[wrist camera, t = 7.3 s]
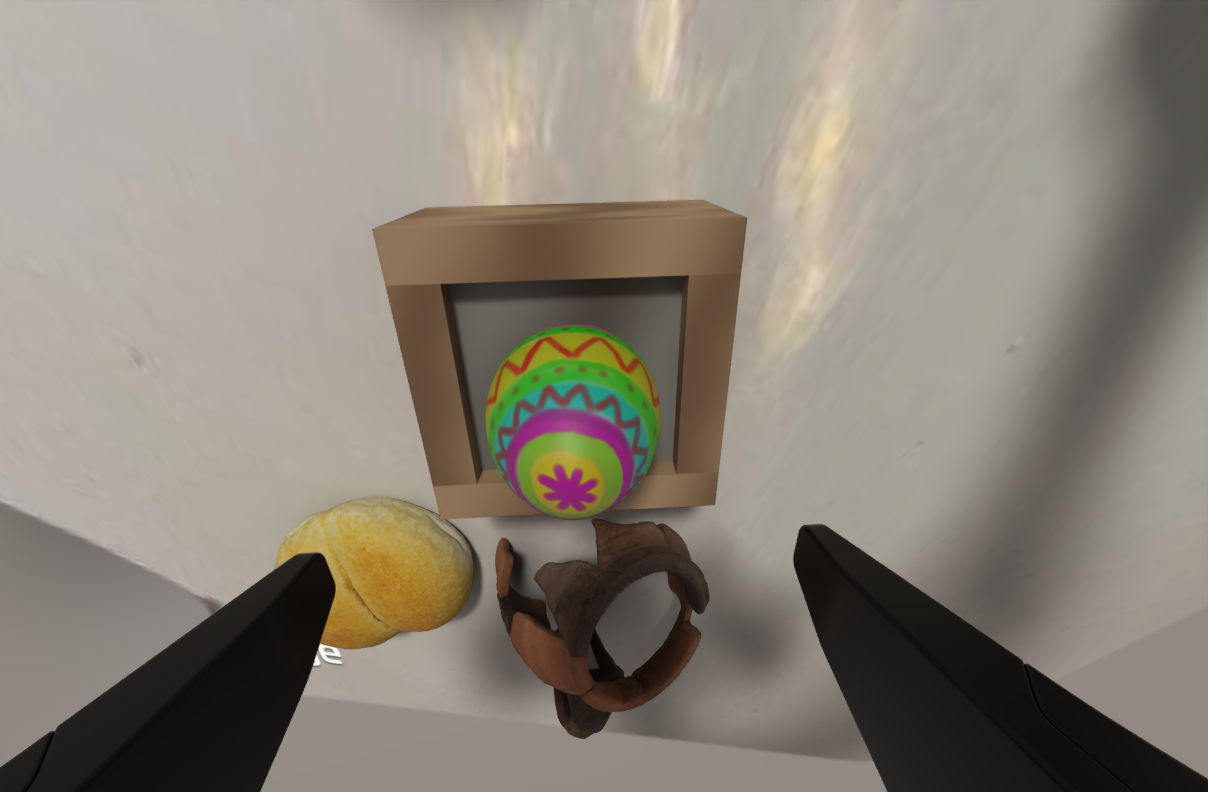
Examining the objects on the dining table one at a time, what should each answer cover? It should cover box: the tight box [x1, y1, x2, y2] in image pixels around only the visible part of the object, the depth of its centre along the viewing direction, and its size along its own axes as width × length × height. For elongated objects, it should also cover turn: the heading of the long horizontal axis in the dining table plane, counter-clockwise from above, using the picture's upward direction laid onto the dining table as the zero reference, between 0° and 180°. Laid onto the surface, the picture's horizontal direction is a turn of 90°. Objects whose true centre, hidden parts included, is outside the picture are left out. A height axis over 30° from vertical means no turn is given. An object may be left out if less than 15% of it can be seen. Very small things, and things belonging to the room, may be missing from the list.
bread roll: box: [274, 497, 473, 649], centre depth 23 cm, size 8×9×4 cm
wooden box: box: [372, 200, 747, 519], centre depth 17 cm, size 10×10×5 cm
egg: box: [485, 324, 661, 520], centre depth 13 cm, size 5×5×6 cm
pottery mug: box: [495, 519, 709, 739], centre depth 24 cm, size 12×10×8 cm
